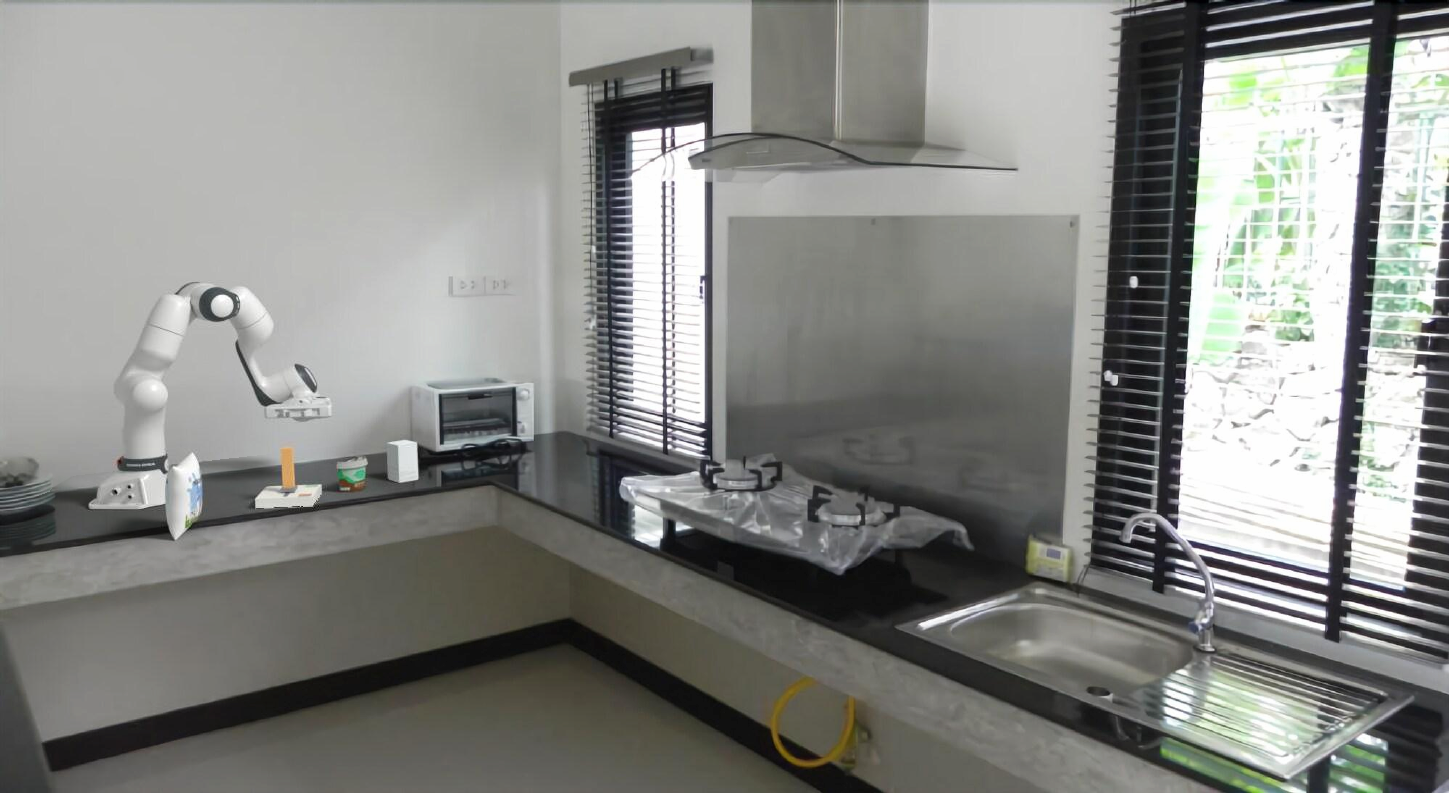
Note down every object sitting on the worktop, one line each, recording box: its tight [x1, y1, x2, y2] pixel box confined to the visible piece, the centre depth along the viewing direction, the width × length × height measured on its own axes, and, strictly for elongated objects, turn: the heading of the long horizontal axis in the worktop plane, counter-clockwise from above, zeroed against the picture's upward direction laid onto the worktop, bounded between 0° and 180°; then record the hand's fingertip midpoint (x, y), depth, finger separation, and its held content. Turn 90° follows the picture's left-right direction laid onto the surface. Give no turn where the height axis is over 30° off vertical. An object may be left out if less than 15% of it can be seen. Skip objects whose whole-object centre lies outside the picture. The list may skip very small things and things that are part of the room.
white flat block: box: [254, 483, 323, 509], centre depth 321 cm, size 16×16×3 cm
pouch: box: [164, 452, 203, 542], centre depth 286 cm, size 8×19×20 cm, turn 9°
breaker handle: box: [280, 446, 299, 492], centre depth 319 cm, size 4×5×13 cm
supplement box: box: [386, 439, 419, 483], centre depth 350 cm, size 7×7×13 cm
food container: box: [336, 454, 369, 493], centre depth 336 cm, size 12×6×10 cm, turn 168°
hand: (294, 414), depth 332 cm, fingers open, 4 cm apart
